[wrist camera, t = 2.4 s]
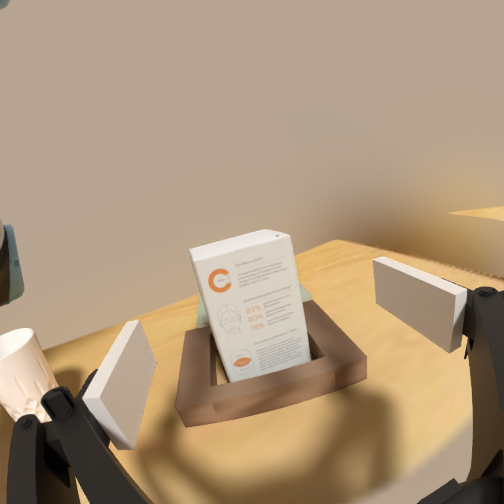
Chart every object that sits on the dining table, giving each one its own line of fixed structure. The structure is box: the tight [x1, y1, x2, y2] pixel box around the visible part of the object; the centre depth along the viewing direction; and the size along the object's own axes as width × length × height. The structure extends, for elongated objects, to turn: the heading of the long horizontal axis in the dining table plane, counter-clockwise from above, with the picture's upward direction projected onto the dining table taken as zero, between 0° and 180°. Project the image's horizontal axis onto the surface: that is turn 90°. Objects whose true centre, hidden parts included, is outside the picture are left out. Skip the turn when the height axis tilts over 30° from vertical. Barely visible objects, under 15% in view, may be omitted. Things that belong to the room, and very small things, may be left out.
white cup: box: [0, 328, 59, 423], centre depth 18 cm, size 8×8×10 cm
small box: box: [189, 229, 311, 383], centre depth 26 cm, size 8×6×13 cm
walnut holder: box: [175, 300, 367, 427], centre depth 27 cm, size 16×14×2 cm
